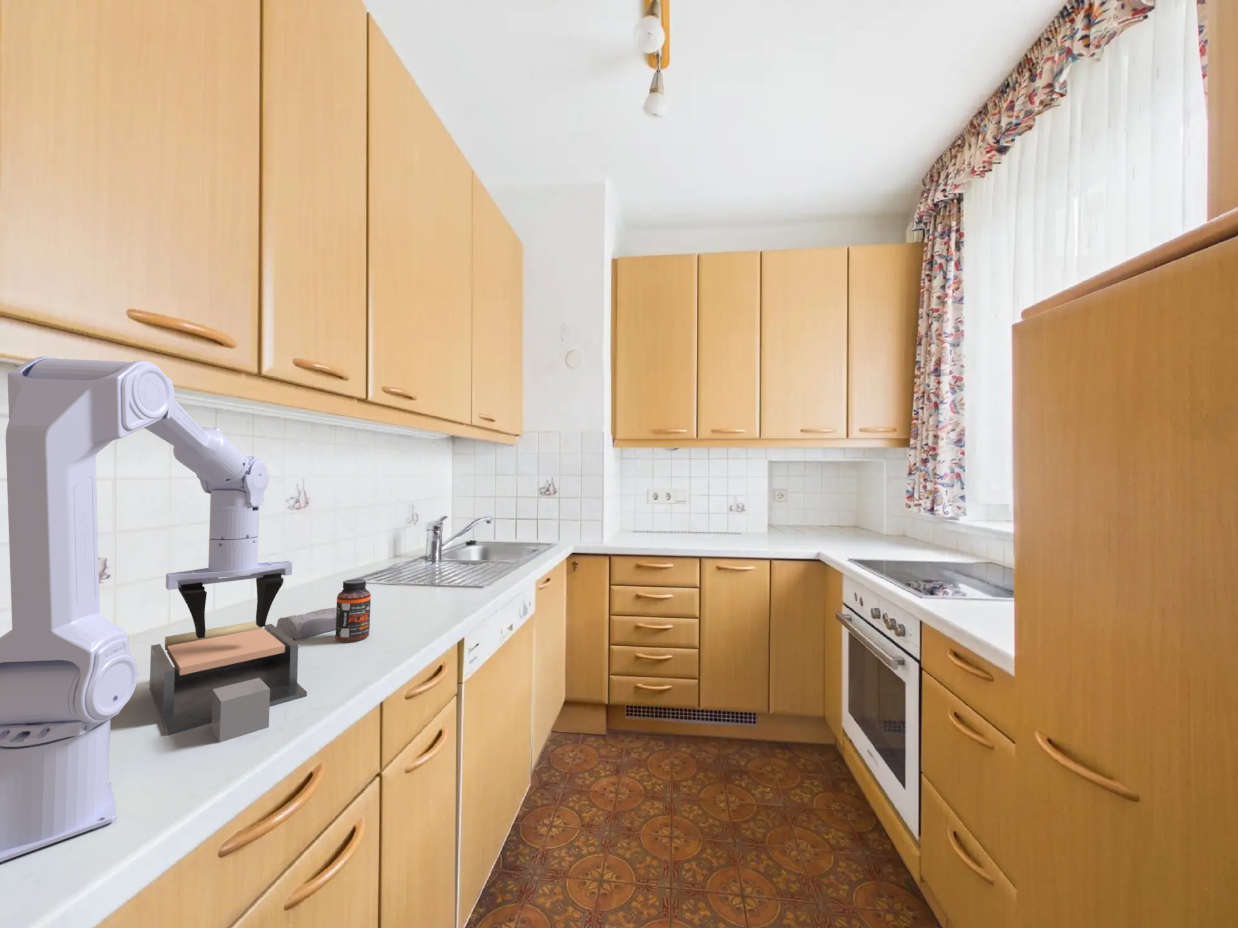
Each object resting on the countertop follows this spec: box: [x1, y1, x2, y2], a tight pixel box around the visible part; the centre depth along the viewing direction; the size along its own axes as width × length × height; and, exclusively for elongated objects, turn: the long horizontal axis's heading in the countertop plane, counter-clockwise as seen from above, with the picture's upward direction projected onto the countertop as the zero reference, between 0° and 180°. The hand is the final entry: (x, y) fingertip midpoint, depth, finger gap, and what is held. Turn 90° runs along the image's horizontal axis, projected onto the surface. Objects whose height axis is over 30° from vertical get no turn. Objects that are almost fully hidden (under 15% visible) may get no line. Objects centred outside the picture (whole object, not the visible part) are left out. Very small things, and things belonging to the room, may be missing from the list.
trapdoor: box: [164, 620, 285, 675], centre depth 76 cm, size 12×15×2 cm
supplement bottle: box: [335, 578, 372, 643], centre depth 99 cm, size 6×6×11 cm
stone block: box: [275, 607, 337, 641], centre depth 104 cm, size 12×5×10 cm
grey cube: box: [210, 678, 270, 743], centre depth 64 cm, size 5×5×5 cm
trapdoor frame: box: [149, 623, 308, 736], centre depth 74 cm, size 15×19×6 cm
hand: (231, 630), depth 73 cm, fingers open, 6 cm apart
